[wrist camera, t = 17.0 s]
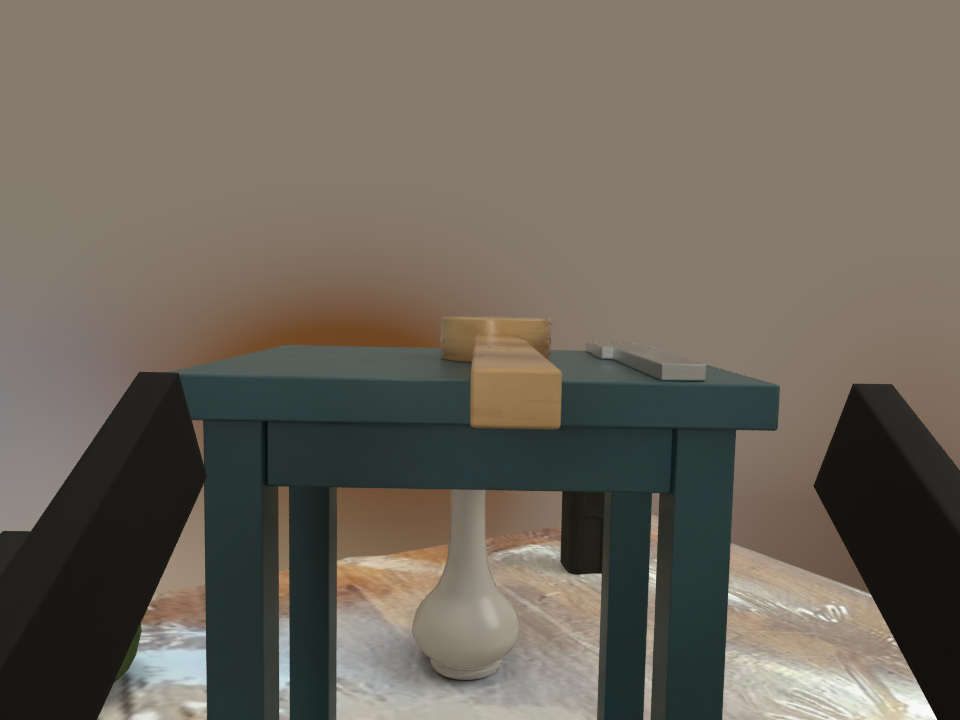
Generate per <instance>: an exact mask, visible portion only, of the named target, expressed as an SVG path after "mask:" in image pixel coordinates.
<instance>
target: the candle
mask: <svg viewBox="0 0 960 720" xmlns="http://www.w3.org/2000/svg"><path fill="white" fill-rule="evenodd" d="M562 492H563V493H562V528H561V563H562V564H563V566H564V567H565V569H566V570H567V571H568V572H570V573H572V574H582V573H602V560H603V530H604V500H605V492H573V491H562Z"/></svg>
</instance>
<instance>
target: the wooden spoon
mask: <svg viewBox="0 0 960 720" xmlns="http://www.w3.org/2000/svg"><path fill="white" fill-rule="evenodd" d="M550 347H551V319H546V318H525V317H524V318H523V317H482V316H447V317H441V356H440V357H441V358H442V359H444V360H449V361H457V362H469V363H472V367H471V393H470V424H471V427H473V428H500V429H555V430H556V429H558V428H559V427H560V425H561V395H562V373H561V371H560V370H559V369H558V368H557V367H556V366H554V365H553V364H552V363H551V362H550V361H549V360H550V352H551V348H550Z"/></svg>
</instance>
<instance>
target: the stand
mask: <svg viewBox="0 0 960 720" xmlns="http://www.w3.org/2000/svg"><path fill="white" fill-rule="evenodd" d="M440 356H441V348H402V347H348V346H344V347H343V346H294V345H286V346H281V347H277V348H272V349H268V350H263V351H259V352H254V353H250V354H246V355H241V356H237V357H233V358H228V359H224V360H220V361H215V362H211V363H207V364H203V365H198V366H193V367H189V368H185V369H180V370H176V371H172V372H167V373H179V376H180V379H181V383H182V387H183V390H184V394H185V398H186V402H187V405H188V409H189V413H190V416H191V420H203V422H204V423H203V427H204V428H203V429H204V468H205V472H206V475H207V477H206V480H205V482H204V505H205V586H206V665H207V720H279V565H278V561H279V559H278V557H279V555H278V486H289V596H290V720H336V628H337V487H350V488H404V489H406V488H407V489H460V490H517V491H573V492H605V500H604V530H603V560H602V590H601V620H600V650H599V679H598V709H597V720H643V712H644V686H645V660H646V635H647V609H648V583H649V557H650V532H651V506H652V493H660V499H659V523H658V548H657V573H656V599H655V624H654V649H653V674H652V699H651V720H722V709H723V688H724V668H725V647H726V626H727V605H728V585H729V564H730V543H731V522H732V499H733V481H734V460H735V439H736V430H769V431H770V430H771V431H775V430H777V428H778V411H779V392H780V387H779V385H776V384H772V383H769V382H765V381H762V380H758V379H755V378H751V377H747V376H743V375H740V374H737V373H733V372H730V371H726V370H722V369H719V368H715V367H712V366H708V365H706V380H705V381H704V382H686V381H661V380H659V379H656V378H654V377H652V376H650V375H647V374H645V373H643V372H640V371H638V370H636V369H633V368H631V367H629V366H627V365H624V364H622V363H620V362H617V361H615V360H603V359H600V358H598V357H596V356H594V355H592V354H591V353H589V352H587V351H561V350H551V352H550V360H549V361H550V362H551V363H552V364H553V365H554V366H556V367H557V368H558V369H559V370H560V371H561V373H562V395H561V425H560V427H559V428H558V429H556V430H555V429H500V428H473V427H471V424H470V393H471V367H472V363H469V362H457V361H449V360H444V359H442V358H441V357H440Z"/></svg>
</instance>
